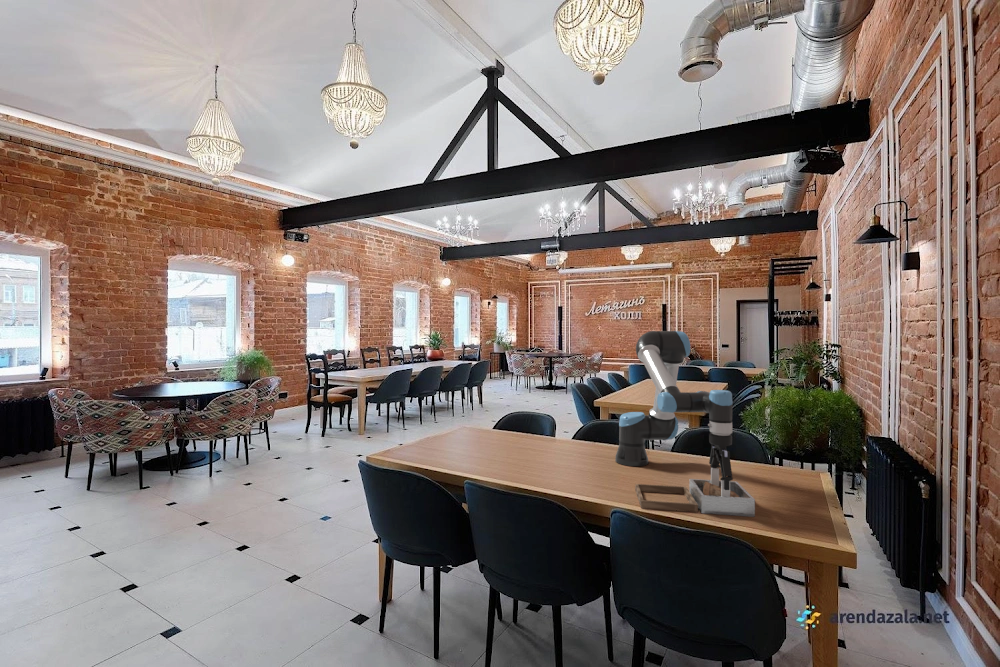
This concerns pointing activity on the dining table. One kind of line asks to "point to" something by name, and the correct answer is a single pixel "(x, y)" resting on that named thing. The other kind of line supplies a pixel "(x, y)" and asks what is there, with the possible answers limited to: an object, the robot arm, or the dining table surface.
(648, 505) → the frame
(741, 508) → the bin
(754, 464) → the dining table surface
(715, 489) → the stone
